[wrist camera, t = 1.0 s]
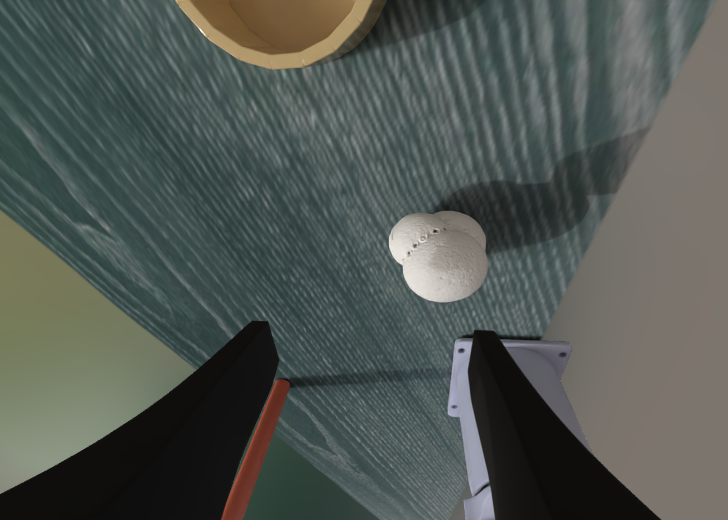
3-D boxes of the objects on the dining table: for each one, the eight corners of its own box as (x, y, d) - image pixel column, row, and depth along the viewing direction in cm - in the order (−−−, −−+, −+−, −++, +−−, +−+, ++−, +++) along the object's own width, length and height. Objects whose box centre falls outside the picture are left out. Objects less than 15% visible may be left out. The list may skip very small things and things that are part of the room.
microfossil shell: (456, 271, 21) (470, 332, 16) (379, 248, 21) (370, 304, 16) (489, 211, 19) (515, 263, 14) (401, 184, 18) (398, 228, 14)
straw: (291, 388, 30) (240, 535, 21) (277, 388, 30) (220, 533, 21) (288, 379, 29) (233, 527, 20) (274, 378, 30) (213, 524, 20)
